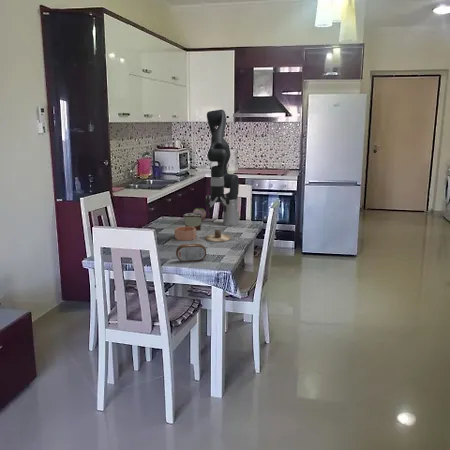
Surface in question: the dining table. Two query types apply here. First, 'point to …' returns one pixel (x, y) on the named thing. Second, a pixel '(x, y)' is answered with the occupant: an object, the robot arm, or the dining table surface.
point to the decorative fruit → (200, 212)
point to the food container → (193, 220)
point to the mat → (217, 242)
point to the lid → (218, 237)
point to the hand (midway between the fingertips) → (217, 212)
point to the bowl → (185, 233)
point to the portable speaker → (191, 252)
